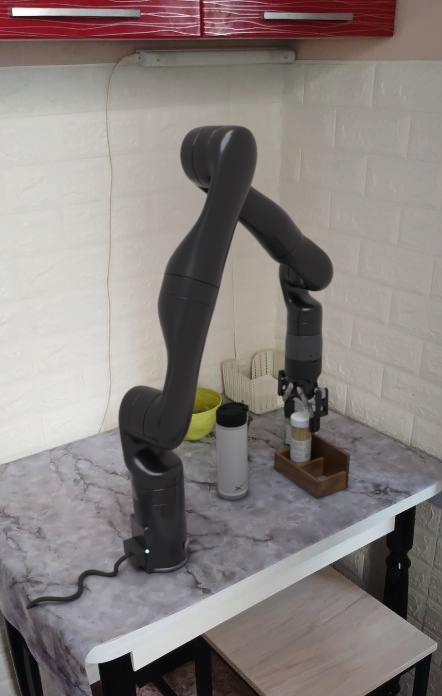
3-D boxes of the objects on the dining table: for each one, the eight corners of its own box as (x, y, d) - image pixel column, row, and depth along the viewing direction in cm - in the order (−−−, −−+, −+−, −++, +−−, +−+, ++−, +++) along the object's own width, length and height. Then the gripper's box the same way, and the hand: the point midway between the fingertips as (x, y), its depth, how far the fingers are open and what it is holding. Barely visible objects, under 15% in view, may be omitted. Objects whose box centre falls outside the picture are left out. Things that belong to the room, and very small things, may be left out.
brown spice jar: (301, 463, 169) (302, 408, 162) (314, 471, 166) (317, 416, 159) (285, 470, 167) (286, 414, 160) (298, 478, 163) (300, 422, 157)
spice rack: (317, 499, 156) (318, 465, 152) (273, 468, 167) (274, 436, 163) (347, 487, 159) (350, 454, 155) (303, 458, 171) (304, 426, 167)
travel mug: (246, 502, 156) (245, 413, 145) (215, 499, 157) (212, 411, 147) (251, 486, 161) (251, 400, 151) (221, 484, 162) (218, 398, 152)
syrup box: (318, 442, 177) (320, 385, 170) (302, 451, 174) (304, 393, 166) (298, 435, 181) (300, 378, 173) (283, 444, 177) (284, 386, 170)
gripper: (267, 345, 156) (267, 416, 164) (310, 367, 145) (307, 442, 154) (297, 337, 159) (295, 408, 167) (341, 358, 149) (336, 432, 157)
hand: (301, 424), depth 160 cm, fingers open, 8 cm apart
